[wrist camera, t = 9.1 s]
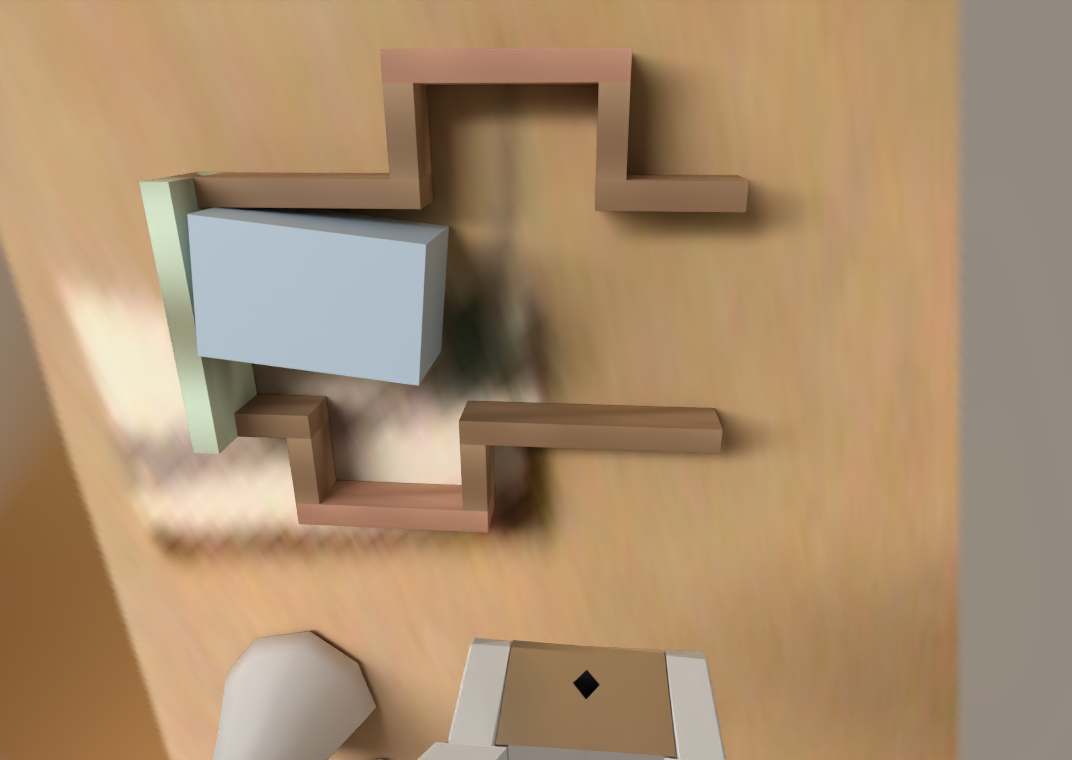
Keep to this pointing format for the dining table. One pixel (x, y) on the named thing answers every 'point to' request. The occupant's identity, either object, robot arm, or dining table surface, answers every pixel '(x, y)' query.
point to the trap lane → (229, 386)
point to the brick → (319, 290)
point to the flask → (291, 701)
